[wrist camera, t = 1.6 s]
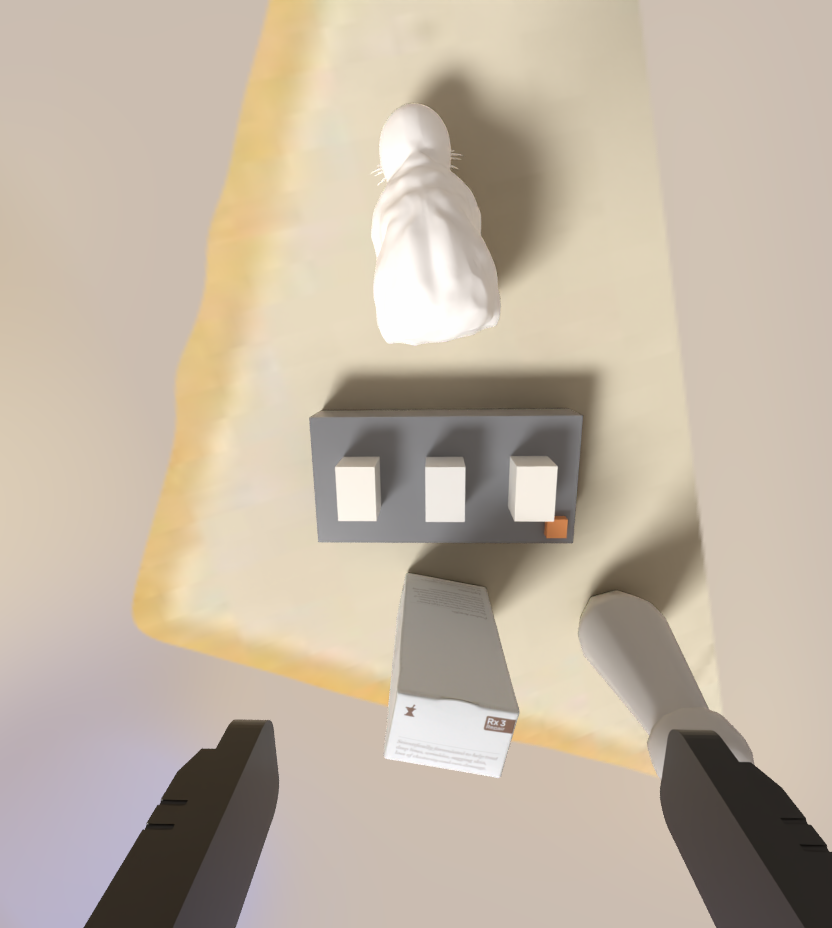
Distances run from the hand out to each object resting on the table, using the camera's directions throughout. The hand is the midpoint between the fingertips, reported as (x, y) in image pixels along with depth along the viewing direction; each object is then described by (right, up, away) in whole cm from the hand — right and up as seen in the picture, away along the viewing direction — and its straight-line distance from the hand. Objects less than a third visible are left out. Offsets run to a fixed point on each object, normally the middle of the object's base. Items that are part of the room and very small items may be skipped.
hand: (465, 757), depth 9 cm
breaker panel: (+1, +6, +22) cm, 22 cm away
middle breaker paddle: (+1, +5, +19) cm, 19 cm away
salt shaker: (+13, -5, +24) cm, 28 cm away
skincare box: (+1, -4, +24) cm, 25 cm away
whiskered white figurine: (0, +19, +18) cm, 27 cm away
